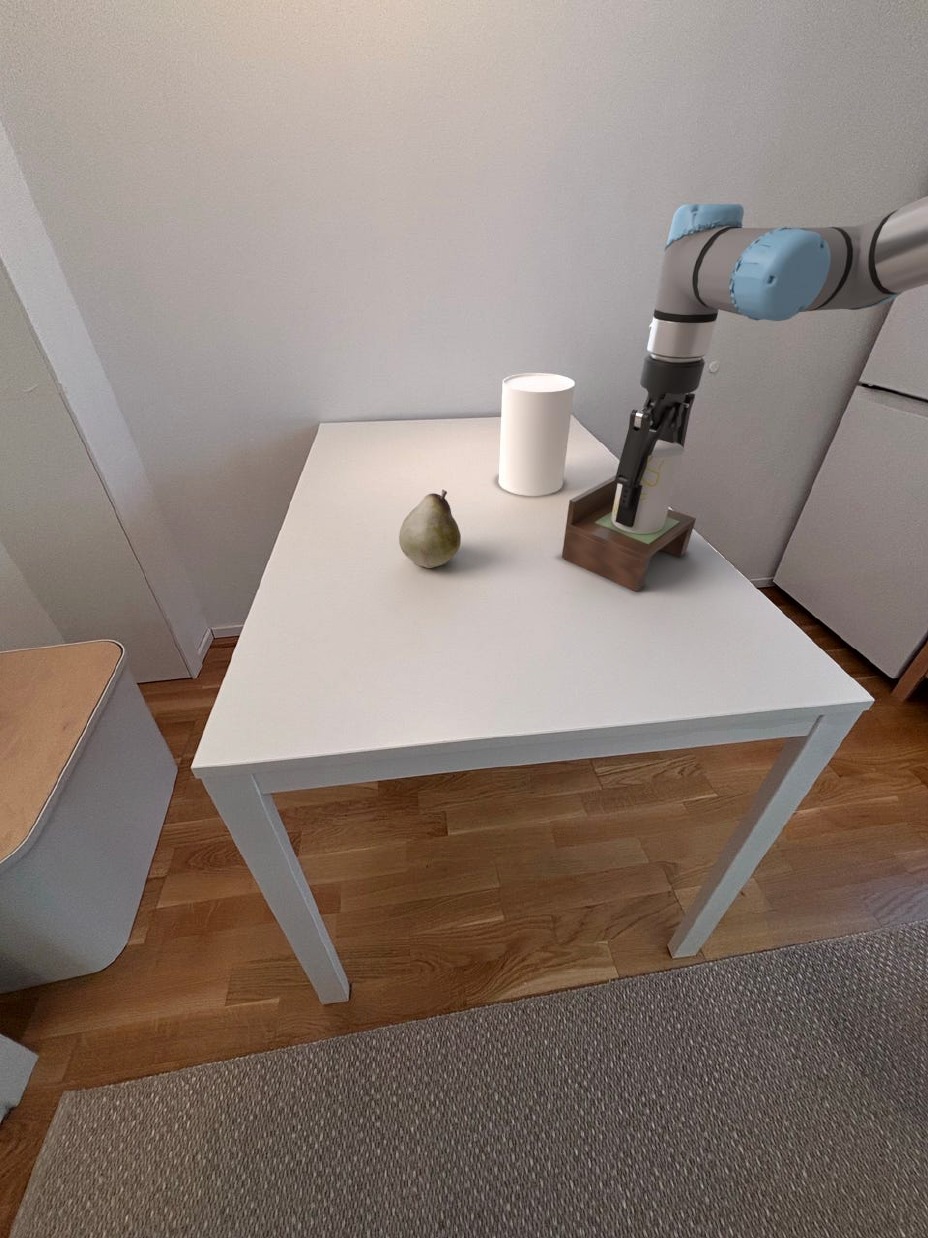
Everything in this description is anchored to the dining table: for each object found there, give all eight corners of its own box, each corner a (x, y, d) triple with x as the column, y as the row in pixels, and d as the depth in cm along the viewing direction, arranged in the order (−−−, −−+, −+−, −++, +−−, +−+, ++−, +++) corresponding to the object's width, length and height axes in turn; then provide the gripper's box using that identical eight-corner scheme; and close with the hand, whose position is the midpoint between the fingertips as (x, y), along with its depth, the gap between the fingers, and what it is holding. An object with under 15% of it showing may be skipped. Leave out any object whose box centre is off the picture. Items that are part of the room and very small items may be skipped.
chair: (685, 552, 87) (703, 495, 81) (636, 592, 79) (651, 531, 72) (613, 525, 95) (624, 470, 88) (561, 558, 86) (569, 499, 80)
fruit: (472, 560, 86) (472, 493, 78) (432, 584, 80) (428, 514, 73) (428, 539, 91) (425, 475, 84) (388, 561, 86) (381, 493, 78)
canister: (536, 464, 117) (544, 369, 105) (575, 486, 108) (589, 384, 96) (486, 477, 112) (488, 379, 99) (524, 501, 103) (531, 396, 90)
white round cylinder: (600, 516, 83) (613, 442, 76) (638, 505, 86) (654, 433, 79) (635, 538, 78) (653, 461, 70) (675, 526, 81) (696, 450, 73)
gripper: (685, 339, 75) (651, 486, 89) (605, 364, 63) (580, 529, 78) (737, 347, 71) (692, 500, 85) (662, 375, 59) (624, 547, 73)
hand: (639, 514), depth 81 cm, fingers closed on white round cylinder, 8 cm apart
